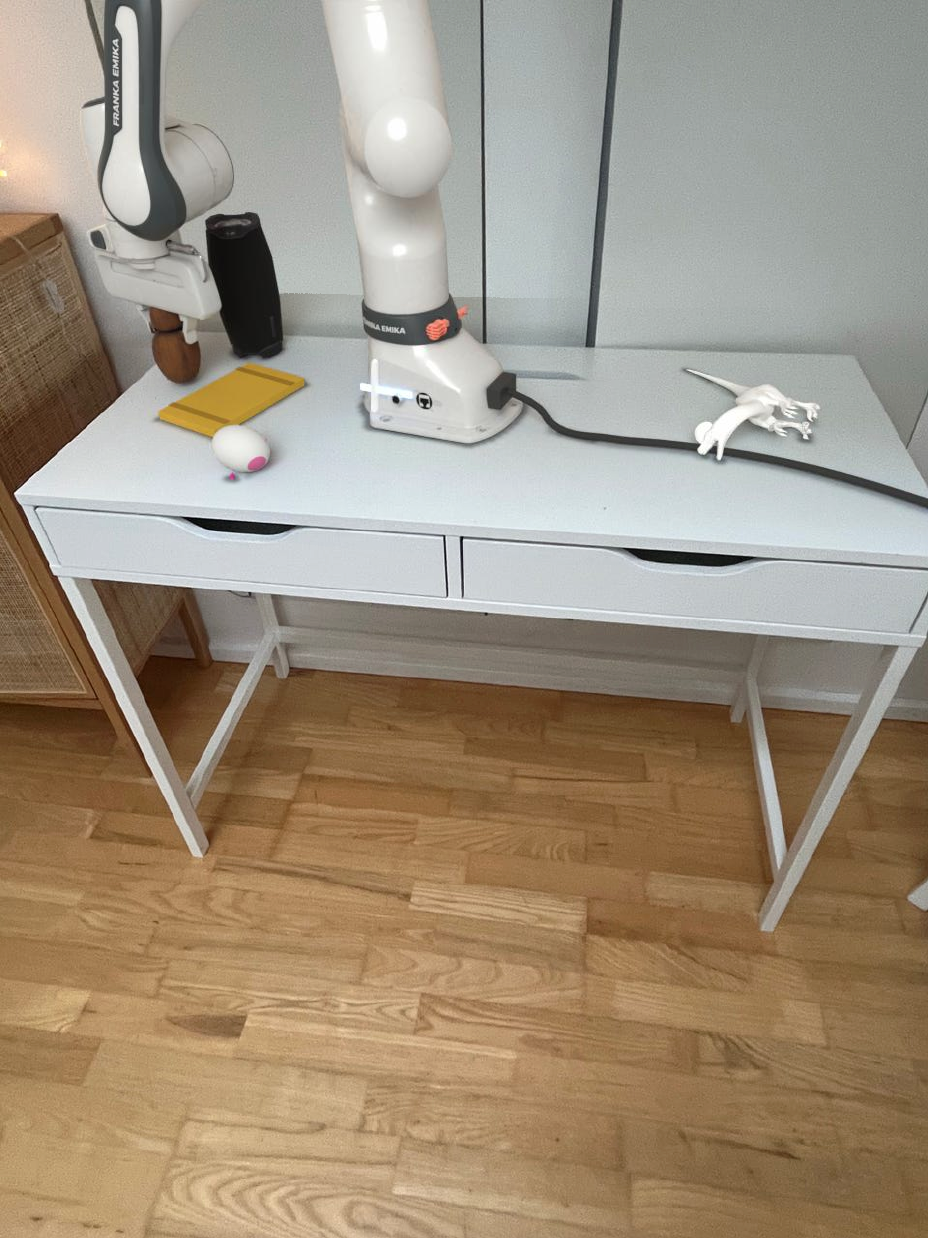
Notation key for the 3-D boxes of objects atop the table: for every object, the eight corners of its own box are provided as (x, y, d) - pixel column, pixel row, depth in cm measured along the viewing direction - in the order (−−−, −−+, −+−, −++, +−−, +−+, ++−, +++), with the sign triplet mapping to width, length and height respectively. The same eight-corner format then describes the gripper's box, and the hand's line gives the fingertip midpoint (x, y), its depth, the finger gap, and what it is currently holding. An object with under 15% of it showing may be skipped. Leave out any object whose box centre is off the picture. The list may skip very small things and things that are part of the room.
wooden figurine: (192, 388, 120) (163, 283, 110) (155, 386, 121) (124, 281, 111) (211, 368, 125) (186, 266, 115) (176, 366, 126) (148, 264, 116)
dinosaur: (781, 435, 122) (673, 411, 123) (802, 376, 118) (691, 352, 119) (815, 484, 100) (683, 454, 101) (843, 413, 96) (705, 383, 97)
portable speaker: (221, 348, 133) (190, 217, 120) (275, 333, 136) (250, 205, 123) (241, 366, 127) (211, 231, 114) (297, 350, 131) (274, 218, 118)
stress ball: (282, 489, 107) (293, 438, 105) (243, 484, 99) (255, 429, 98) (235, 474, 109) (246, 424, 108) (194, 469, 102) (205, 415, 101)
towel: (305, 385, 122) (303, 376, 121) (215, 438, 111) (213, 429, 110) (250, 369, 126) (248, 361, 126) (159, 419, 115) (157, 410, 114)
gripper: (218, 239, 108) (241, 343, 117) (114, 219, 116) (143, 316, 125) (182, 254, 104) (208, 360, 113) (77, 231, 112) (109, 331, 122)
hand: (173, 337), depth 119 cm, fingers closed on wooden figurine, 5 cm apart
